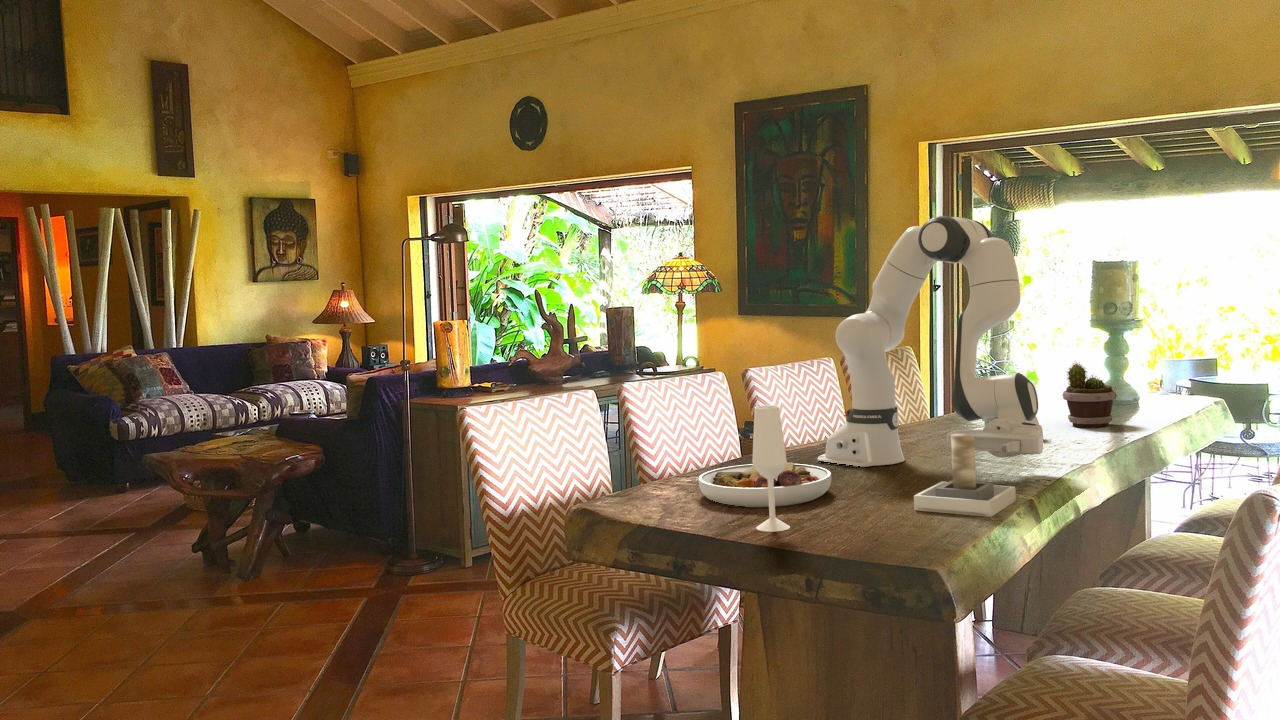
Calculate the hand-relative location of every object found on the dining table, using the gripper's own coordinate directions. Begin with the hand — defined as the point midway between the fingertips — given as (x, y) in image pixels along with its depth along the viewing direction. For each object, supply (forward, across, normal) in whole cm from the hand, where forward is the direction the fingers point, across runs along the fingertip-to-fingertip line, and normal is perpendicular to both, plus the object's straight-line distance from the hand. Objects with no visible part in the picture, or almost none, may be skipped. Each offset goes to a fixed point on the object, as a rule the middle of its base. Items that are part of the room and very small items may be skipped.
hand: (982, 447), depth 214 cm
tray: (+12, 0, +10) cm, 16 cm away
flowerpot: (-103, -3, +11) cm, 103 cm away
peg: (+12, 0, +10) cm, 16 cm away
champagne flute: (+44, -27, +10) cm, 53 cm away
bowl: (+18, -44, +11) cm, 49 cm away
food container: (-57, -16, +11) cm, 60 cm away
